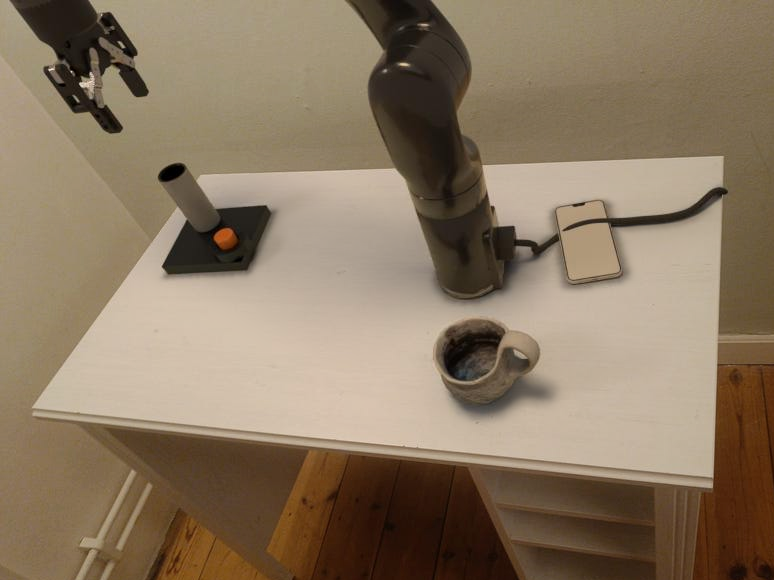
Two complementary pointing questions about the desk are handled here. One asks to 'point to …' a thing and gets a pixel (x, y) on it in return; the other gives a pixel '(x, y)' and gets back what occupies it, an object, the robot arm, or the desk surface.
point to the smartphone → (587, 243)
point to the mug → (482, 358)
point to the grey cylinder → (189, 197)
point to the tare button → (226, 239)
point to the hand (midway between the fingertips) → (130, 113)
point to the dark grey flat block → (205, 254)
